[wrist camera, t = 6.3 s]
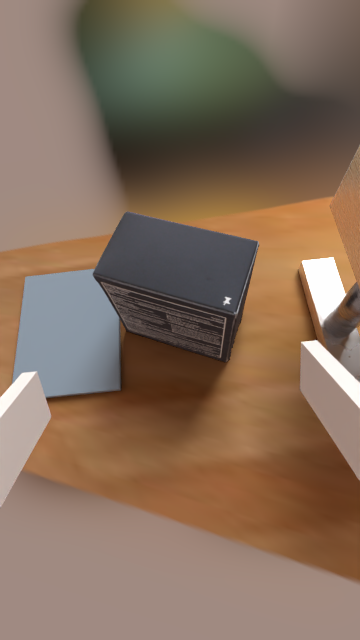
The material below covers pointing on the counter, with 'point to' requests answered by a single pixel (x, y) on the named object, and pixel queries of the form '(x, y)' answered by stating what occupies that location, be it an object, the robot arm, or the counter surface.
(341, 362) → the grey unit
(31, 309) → the mat
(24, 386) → the robot arm
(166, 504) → the counter surface
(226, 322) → the small box
